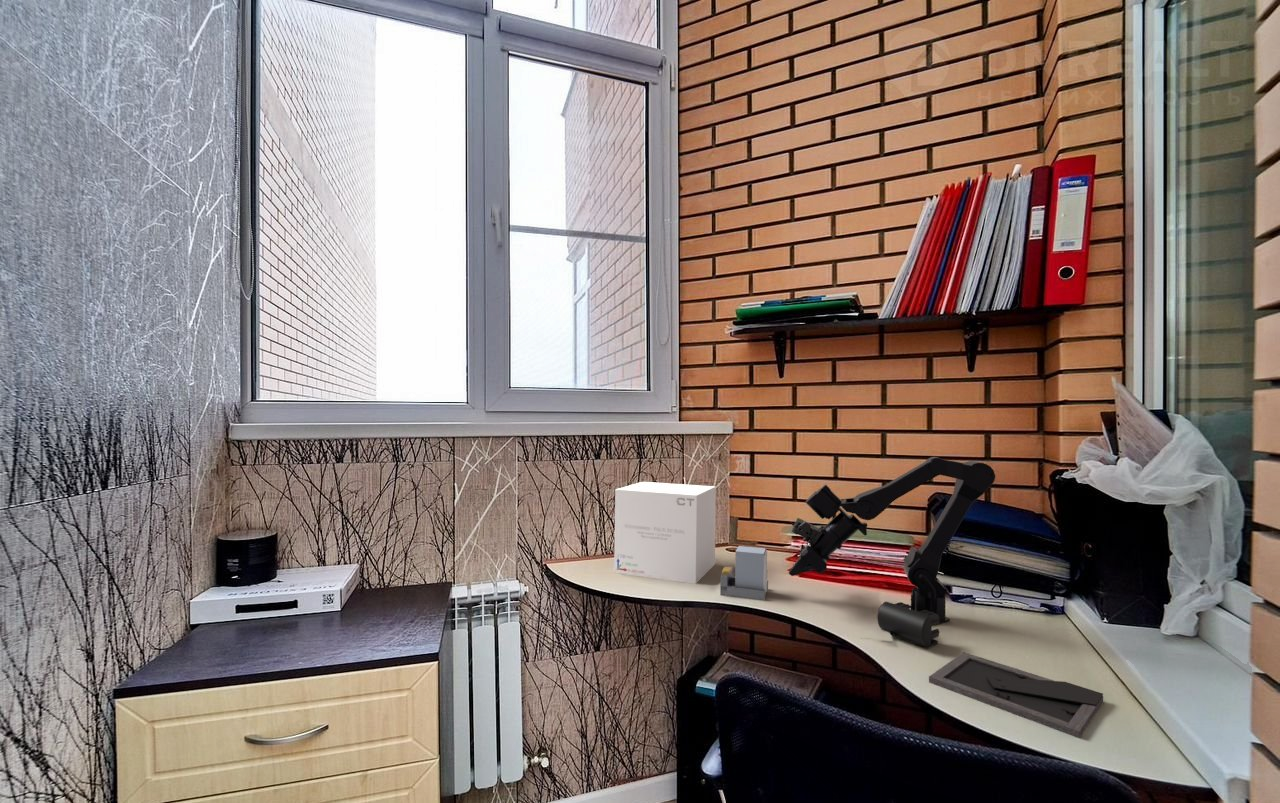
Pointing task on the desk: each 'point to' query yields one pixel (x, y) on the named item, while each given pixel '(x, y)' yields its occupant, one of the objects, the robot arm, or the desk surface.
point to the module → (751, 567)
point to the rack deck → (731, 590)
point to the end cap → (909, 623)
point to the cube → (665, 531)
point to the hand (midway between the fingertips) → (790, 574)
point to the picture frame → (1021, 693)
